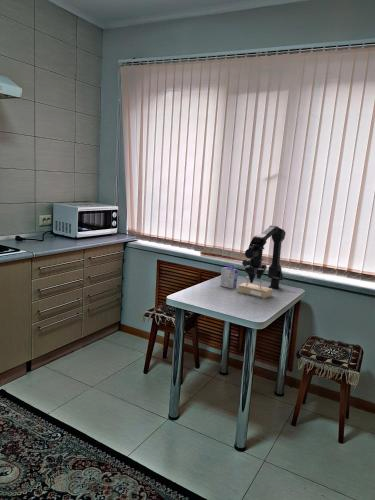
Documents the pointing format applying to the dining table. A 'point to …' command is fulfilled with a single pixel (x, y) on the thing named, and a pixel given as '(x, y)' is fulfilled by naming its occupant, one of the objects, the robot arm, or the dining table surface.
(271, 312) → the dining table surface
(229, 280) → the ink cartridge box
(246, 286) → the flap
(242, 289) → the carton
